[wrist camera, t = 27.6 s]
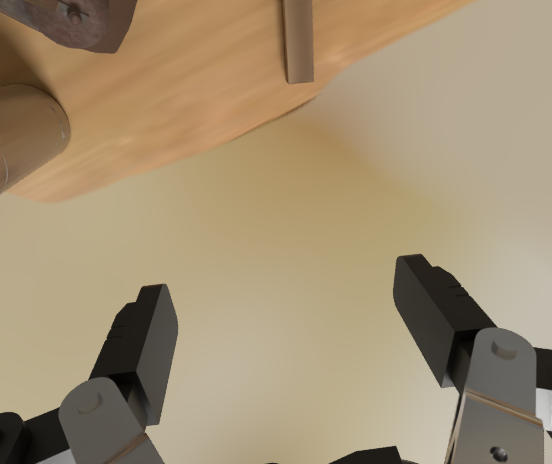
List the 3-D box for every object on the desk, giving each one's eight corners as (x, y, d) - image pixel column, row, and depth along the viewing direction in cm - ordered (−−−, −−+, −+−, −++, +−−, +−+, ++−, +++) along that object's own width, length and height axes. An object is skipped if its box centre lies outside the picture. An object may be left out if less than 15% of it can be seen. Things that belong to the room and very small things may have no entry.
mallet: (274, 82, 44) (277, 87, 41) (261, -91, 36) (264, -105, 32) (321, 77, 45) (328, 82, 41) (319, -95, 36) (329, -110, 32)
